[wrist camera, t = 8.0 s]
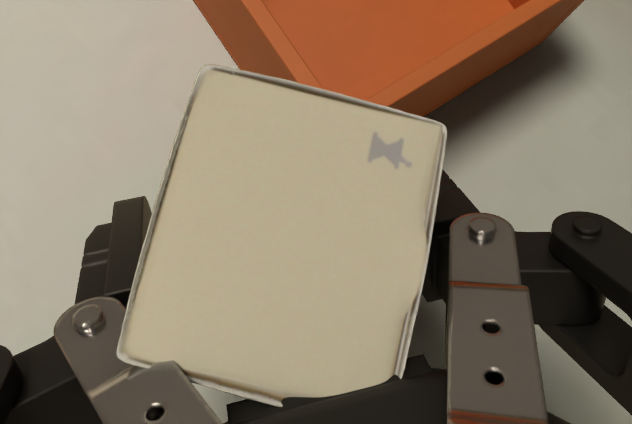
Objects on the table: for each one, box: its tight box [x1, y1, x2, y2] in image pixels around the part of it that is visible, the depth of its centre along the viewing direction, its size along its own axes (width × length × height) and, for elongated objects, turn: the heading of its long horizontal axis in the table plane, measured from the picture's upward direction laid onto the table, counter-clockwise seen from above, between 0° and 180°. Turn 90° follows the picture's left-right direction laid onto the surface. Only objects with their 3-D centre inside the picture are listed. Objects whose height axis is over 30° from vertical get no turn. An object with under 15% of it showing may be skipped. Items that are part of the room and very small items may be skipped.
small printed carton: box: [117, 64, 448, 407], centre depth 14 cm, size 5×4×10 cm
